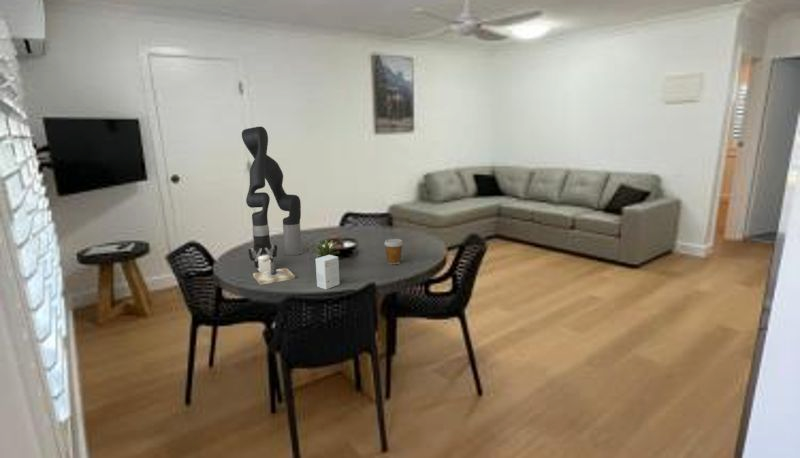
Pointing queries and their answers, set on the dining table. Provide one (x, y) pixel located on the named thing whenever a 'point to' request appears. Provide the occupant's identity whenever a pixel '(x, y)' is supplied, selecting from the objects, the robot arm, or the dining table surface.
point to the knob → (264, 263)
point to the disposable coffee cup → (393, 250)
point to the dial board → (273, 275)
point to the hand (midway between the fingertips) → (264, 266)
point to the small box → (327, 271)
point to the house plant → (326, 249)
